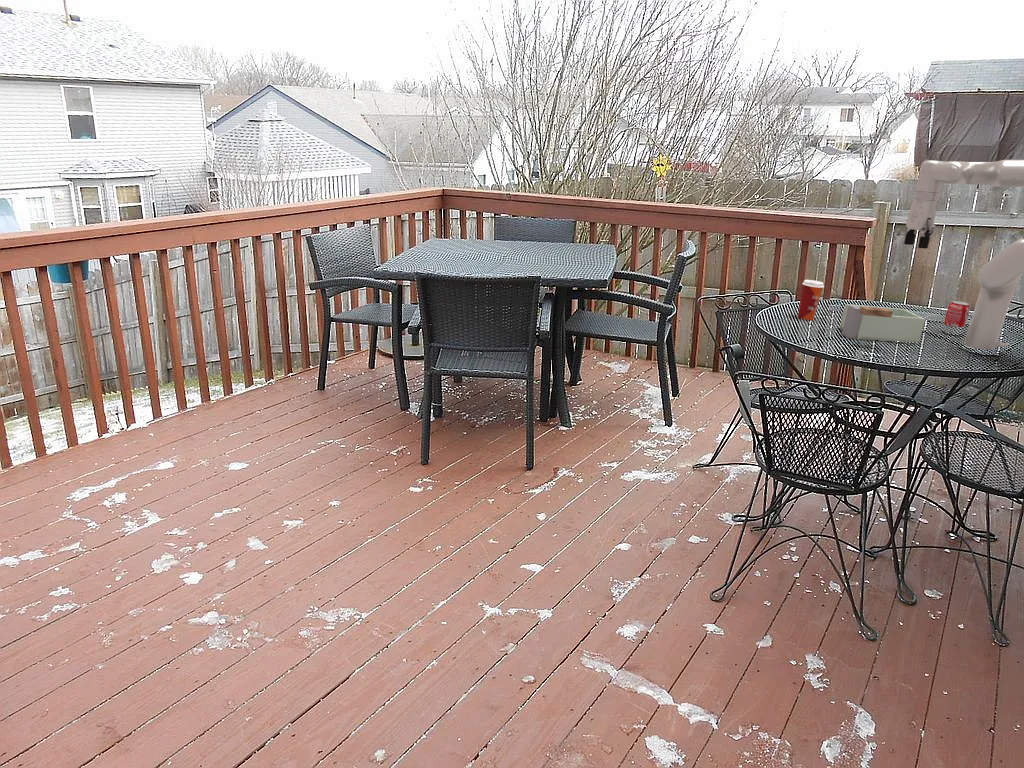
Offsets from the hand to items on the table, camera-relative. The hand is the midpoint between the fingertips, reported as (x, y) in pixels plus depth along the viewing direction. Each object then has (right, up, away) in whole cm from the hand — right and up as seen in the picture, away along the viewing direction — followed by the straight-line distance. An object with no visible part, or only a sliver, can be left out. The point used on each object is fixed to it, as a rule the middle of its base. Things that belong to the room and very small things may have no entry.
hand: (915, 246), depth 274 cm
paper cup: (-33, -25, +15) cm, 44 cm away
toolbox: (-15, -32, -2) cm, 36 cm away
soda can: (+20, -30, +13) cm, 39 cm away
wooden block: (-24, -26, -19) cm, 40 cm away
